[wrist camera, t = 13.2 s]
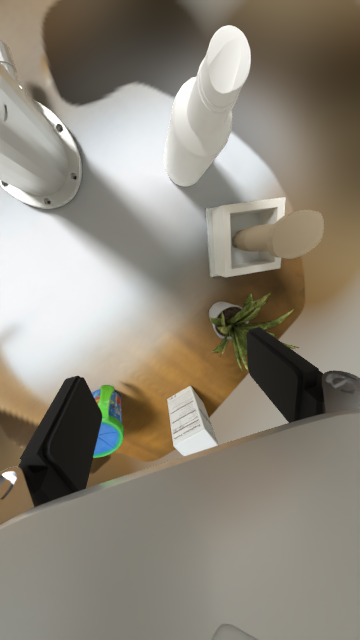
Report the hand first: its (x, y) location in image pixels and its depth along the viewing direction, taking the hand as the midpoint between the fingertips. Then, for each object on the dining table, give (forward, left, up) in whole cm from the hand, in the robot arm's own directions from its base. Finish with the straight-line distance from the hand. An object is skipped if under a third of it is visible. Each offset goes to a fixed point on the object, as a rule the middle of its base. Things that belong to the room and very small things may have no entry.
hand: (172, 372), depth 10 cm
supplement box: (+31, +2, -29) cm, 43 cm away
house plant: (+10, +14, -28) cm, 33 cm away
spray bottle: (-19, +8, -29) cm, 35 cm away
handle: (-6, +17, -27) cm, 33 cm away
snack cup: (+25, -17, -29) cm, 42 cm away
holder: (-6, +17, -28) cm, 34 cm away
